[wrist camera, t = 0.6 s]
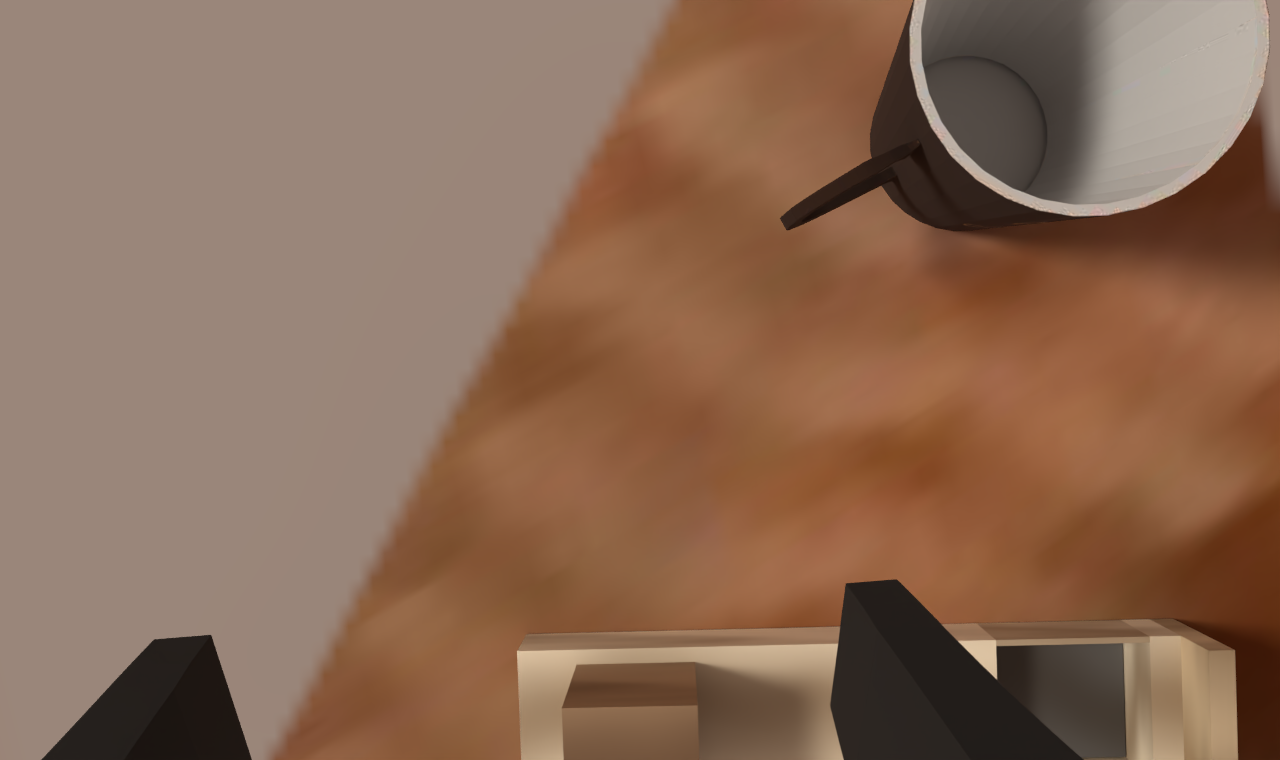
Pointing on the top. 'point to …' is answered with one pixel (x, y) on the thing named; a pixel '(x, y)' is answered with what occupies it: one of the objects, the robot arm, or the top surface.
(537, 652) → the birch tray
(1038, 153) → the black cup
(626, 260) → the top surface
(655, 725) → the walnut block
